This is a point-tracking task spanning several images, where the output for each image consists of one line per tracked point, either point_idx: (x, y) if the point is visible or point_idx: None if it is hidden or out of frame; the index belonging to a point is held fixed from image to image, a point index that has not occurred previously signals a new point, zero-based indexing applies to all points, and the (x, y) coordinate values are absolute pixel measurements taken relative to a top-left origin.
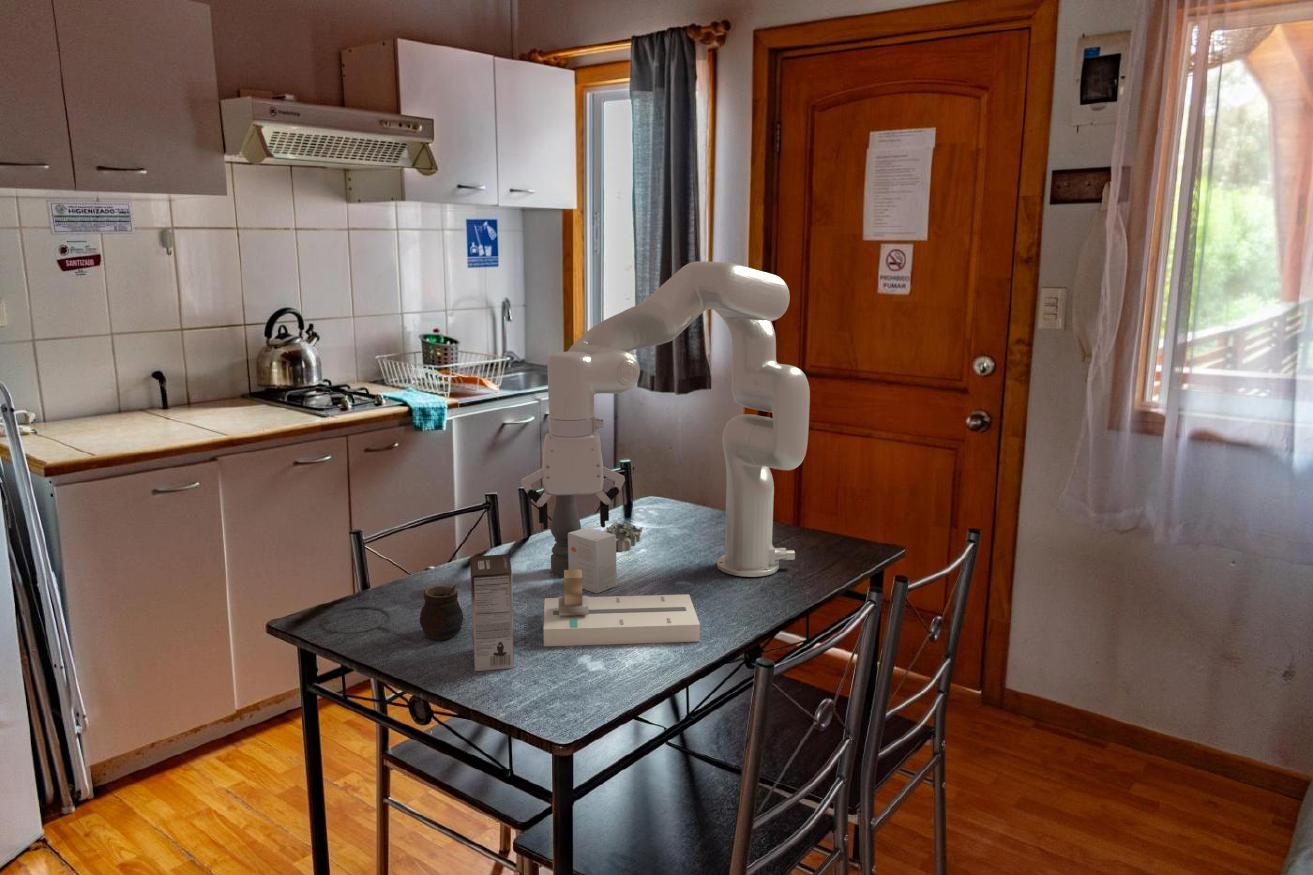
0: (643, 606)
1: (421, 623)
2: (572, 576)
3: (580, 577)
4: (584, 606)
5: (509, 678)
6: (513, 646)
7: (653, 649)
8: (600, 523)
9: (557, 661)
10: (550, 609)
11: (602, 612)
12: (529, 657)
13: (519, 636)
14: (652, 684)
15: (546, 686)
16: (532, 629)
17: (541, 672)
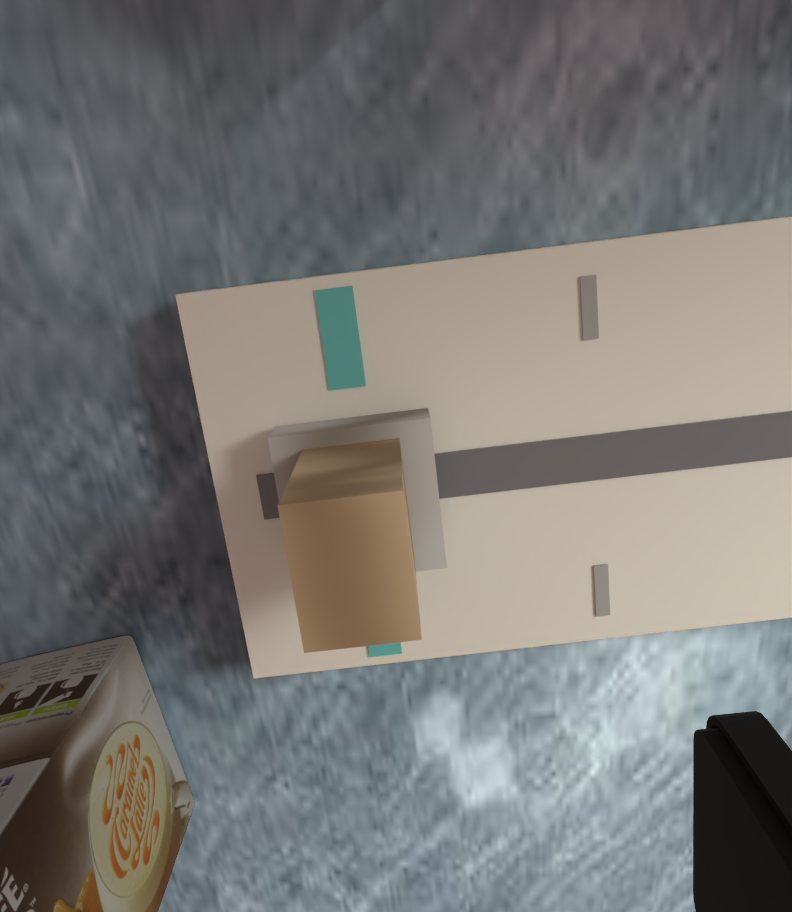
0: (722, 391)
1: None
2: (354, 625)
3: (410, 638)
4: (426, 568)
5: (200, 868)
6: (169, 852)
7: (702, 640)
8: (698, 823)
9: (341, 749)
10: (239, 453)
11: (508, 487)
12: (231, 724)
13: (144, 547)
14: (673, 883)
15: (332, 908)
16: (182, 473)
17: (298, 826)
